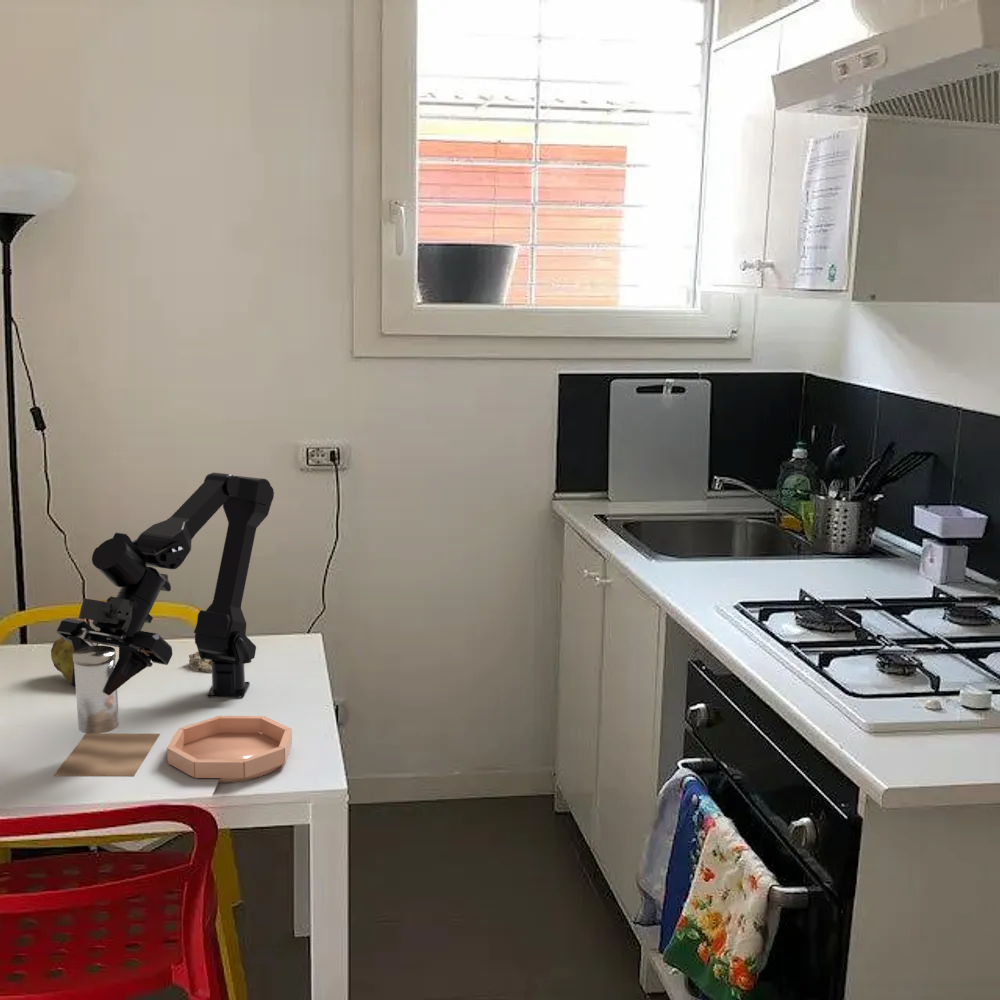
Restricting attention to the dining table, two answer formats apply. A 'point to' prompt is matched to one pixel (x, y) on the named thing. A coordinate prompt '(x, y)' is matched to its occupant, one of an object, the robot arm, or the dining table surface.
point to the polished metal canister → (95, 689)
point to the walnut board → (108, 755)
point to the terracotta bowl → (230, 747)
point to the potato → (63, 658)
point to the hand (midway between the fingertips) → (90, 690)
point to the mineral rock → (200, 663)
